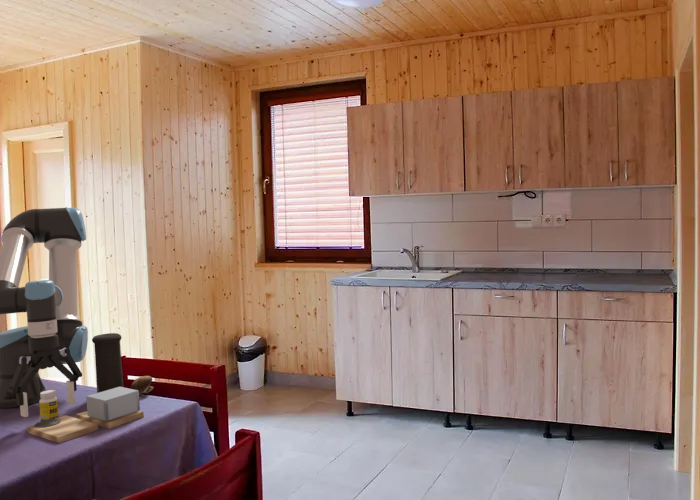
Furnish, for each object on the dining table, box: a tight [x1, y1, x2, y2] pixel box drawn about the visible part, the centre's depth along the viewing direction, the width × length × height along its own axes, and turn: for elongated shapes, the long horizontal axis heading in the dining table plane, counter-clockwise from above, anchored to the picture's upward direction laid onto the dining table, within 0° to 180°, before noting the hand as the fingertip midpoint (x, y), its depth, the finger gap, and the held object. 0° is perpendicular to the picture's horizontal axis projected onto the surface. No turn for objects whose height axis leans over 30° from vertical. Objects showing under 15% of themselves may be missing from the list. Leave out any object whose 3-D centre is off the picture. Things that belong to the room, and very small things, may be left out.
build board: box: [26, 415, 99, 444], centre depth 170 cm, size 17×11×2 cm, turn 54°
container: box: [91, 332, 125, 393], centre depth 202 cm, size 9×9×20 cm
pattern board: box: [75, 410, 145, 430], centre depth 179 cm, size 16×11×4 cm
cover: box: [86, 387, 141, 421], centre depth 177 cm, size 9×11×6 cm
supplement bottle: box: [38, 389, 60, 421], centre depth 179 cm, size 5×5×8 cm
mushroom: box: [130, 375, 155, 396], centre depth 202 cm, size 8×8×6 cm
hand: (48, 409), depth 178 cm, fingers open, 13 cm apart
